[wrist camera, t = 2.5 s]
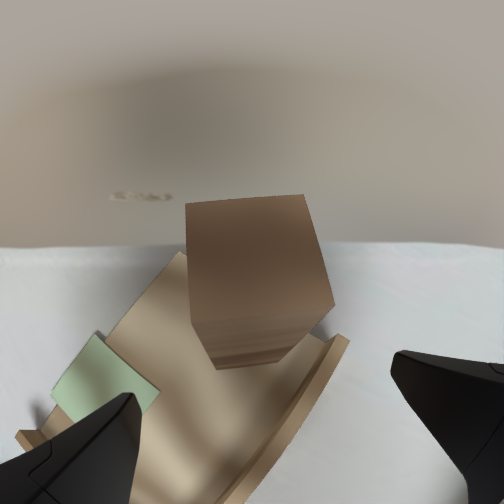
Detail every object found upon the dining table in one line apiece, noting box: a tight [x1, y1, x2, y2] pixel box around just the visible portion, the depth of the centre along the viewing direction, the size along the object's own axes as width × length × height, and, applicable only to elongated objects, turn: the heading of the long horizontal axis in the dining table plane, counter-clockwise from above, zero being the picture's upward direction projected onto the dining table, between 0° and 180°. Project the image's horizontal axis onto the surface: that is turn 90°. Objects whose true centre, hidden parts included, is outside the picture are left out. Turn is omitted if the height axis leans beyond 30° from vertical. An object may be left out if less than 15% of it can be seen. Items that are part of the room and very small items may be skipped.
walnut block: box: [185, 195, 335, 370], centre depth 15 cm, size 4×4×13 cm
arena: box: [15, 251, 350, 504], centre depth 17 cm, size 22×16×3 cm
